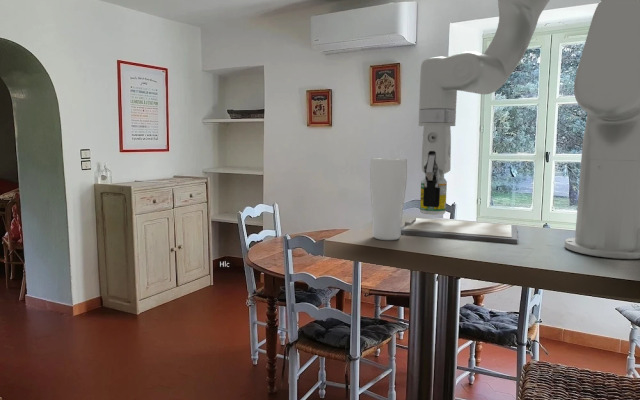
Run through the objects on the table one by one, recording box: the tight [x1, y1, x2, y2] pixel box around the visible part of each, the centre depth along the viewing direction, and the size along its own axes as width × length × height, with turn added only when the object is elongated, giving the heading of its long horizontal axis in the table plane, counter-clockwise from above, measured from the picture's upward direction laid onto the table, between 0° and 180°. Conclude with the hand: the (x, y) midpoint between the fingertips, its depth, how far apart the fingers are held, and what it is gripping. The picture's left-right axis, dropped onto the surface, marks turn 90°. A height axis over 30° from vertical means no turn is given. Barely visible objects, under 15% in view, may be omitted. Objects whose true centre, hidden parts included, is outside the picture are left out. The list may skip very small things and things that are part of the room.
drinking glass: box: [369, 157, 408, 241], centre depth 90 cm, size 7×7×15 cm
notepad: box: [401, 217, 518, 245], centre depth 98 cm, size 22×16×2 cm
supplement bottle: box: [419, 168, 448, 216], centre depth 102 cm, size 5×5×10 cm
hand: (433, 203), depth 102 cm, fingers closed on supplement bottle, 5 cm apart
